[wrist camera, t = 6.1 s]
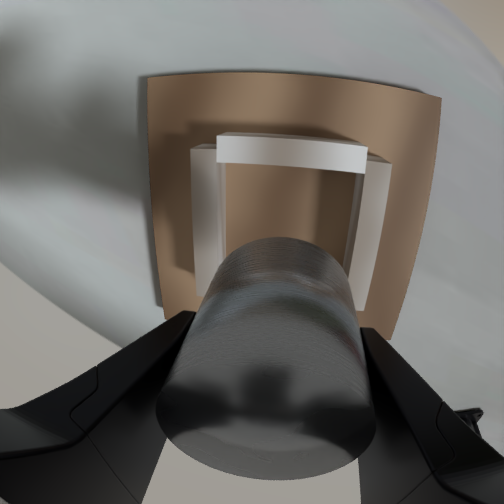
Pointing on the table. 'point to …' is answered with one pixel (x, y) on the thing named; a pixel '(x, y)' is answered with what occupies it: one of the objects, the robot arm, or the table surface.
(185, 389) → the cylinder
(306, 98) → the wooden board with frame
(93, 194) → the table surface
